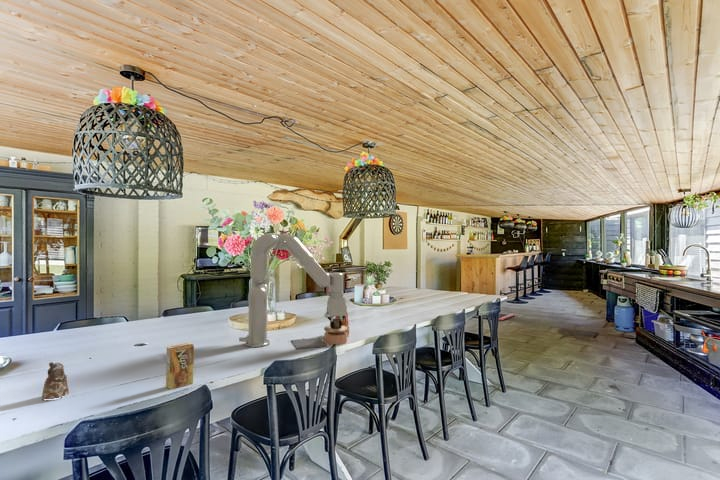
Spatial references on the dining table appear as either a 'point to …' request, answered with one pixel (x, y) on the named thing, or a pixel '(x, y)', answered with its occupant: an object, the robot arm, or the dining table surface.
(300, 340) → the mat
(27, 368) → the dining table surface
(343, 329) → the lid
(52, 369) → the figurine
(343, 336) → the bowl
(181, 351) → the candy box
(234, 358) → the dining table surface
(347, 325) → the milk carton
